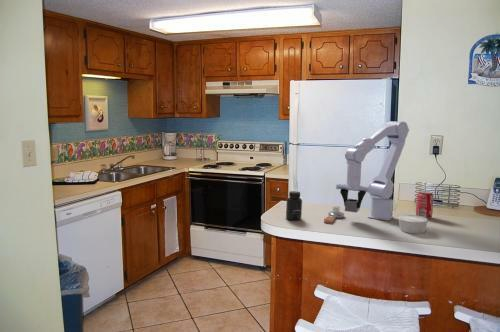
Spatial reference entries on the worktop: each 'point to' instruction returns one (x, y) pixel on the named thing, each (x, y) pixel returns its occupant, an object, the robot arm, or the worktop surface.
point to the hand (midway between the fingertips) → (352, 206)
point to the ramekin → (412, 224)
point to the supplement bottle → (294, 206)
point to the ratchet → (334, 215)
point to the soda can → (424, 204)
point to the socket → (351, 205)
